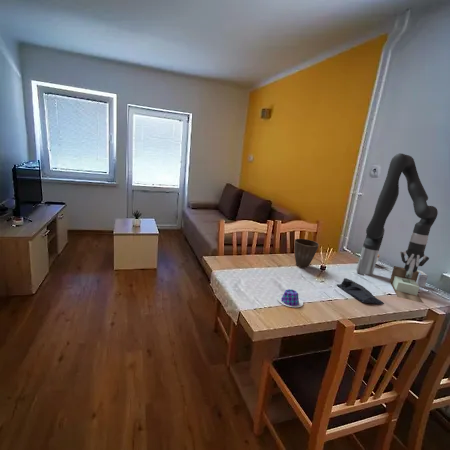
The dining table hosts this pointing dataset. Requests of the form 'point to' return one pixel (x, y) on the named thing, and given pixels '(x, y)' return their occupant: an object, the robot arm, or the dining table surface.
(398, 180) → the robot arm
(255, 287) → the dining table surface
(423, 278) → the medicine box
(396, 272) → the track and wall
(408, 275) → the steel peg
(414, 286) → the sliding block
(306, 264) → the plant pot
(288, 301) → the checked sun hat
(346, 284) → the dark folded cloth
